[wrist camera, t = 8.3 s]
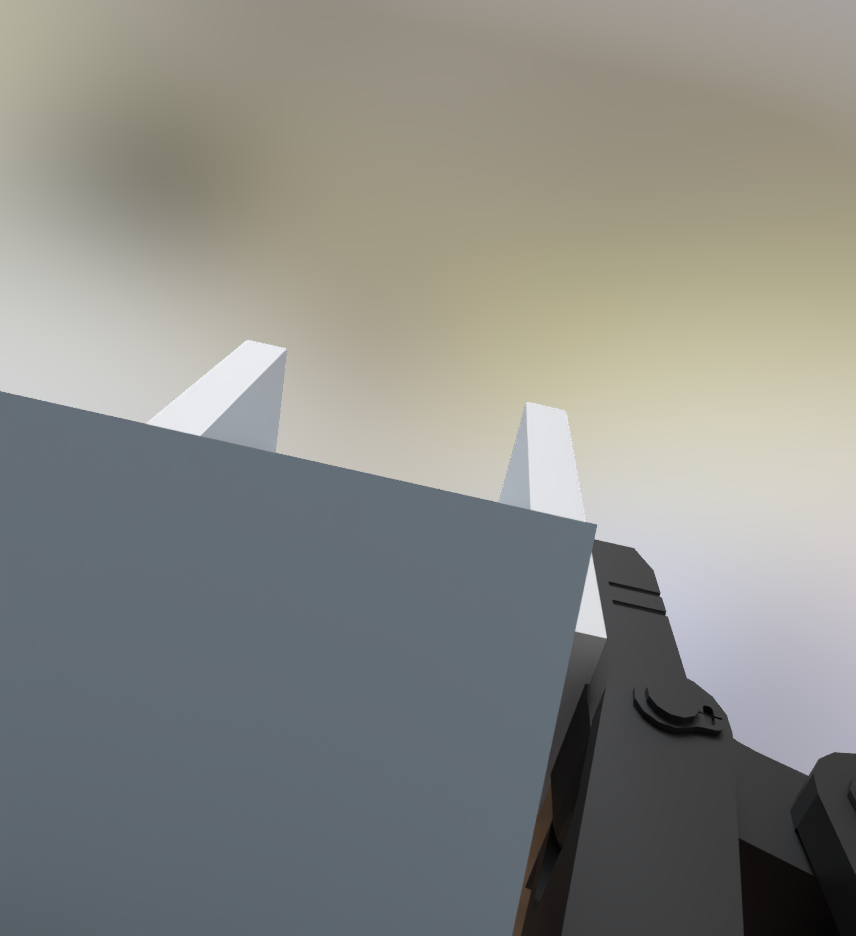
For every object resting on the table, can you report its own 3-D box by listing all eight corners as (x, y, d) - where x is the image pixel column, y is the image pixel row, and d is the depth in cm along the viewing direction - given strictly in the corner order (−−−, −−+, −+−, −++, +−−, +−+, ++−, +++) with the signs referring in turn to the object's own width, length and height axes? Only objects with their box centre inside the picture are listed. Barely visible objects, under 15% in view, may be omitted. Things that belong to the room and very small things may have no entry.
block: (-150, 935, 4) (-4, 389, 5) (346, 574, 32) (363, 497, 33) (481, 1084, 4) (597, 525, 5) (433, 593, 32) (450, 516, 33)
